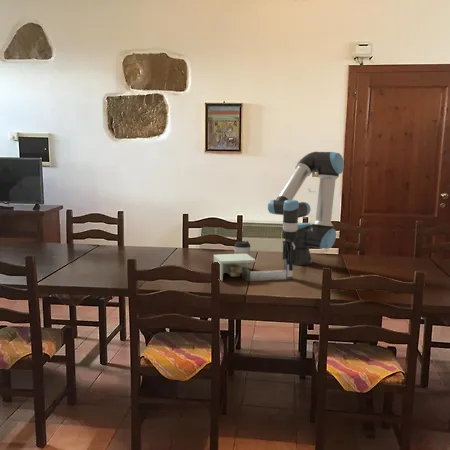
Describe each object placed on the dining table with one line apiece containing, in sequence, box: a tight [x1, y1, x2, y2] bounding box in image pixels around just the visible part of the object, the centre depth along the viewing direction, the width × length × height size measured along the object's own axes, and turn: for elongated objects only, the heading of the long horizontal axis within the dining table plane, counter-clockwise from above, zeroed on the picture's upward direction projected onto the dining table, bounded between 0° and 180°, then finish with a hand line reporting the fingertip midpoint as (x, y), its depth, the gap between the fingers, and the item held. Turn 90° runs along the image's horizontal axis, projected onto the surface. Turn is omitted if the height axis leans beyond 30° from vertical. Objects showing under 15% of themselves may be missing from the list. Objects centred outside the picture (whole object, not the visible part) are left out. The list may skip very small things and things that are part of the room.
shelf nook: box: [213, 253, 256, 282], centre depth 265 cm, size 18×15×10 cm
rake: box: [241, 259, 294, 282], centre depth 264 cm, size 24×9×10 cm, turn 104°
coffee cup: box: [233, 240, 251, 270], centre depth 283 cm, size 9×9×15 cm
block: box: [227, 265, 241, 277], centre depth 269 cm, size 5×5×5 cm
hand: (288, 275), depth 264 cm, fingers closed on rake, 3 cm apart
